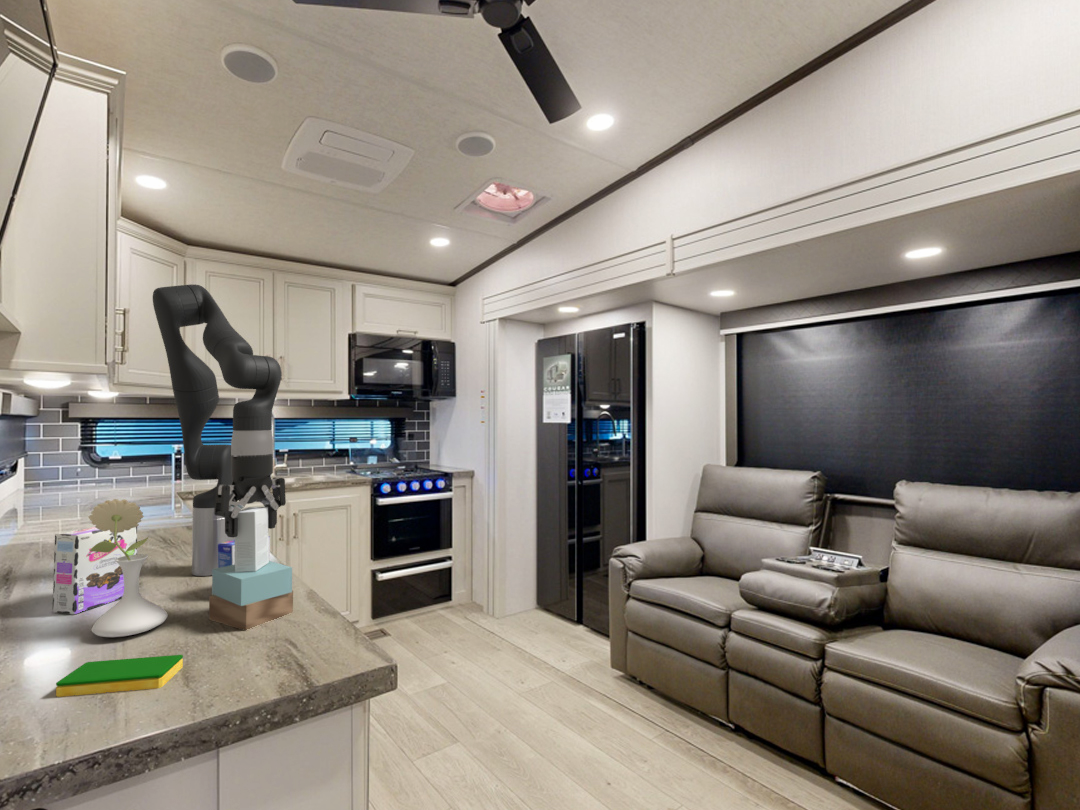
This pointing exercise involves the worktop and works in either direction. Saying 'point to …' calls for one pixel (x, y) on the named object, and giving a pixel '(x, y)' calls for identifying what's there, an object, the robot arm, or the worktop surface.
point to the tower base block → (249, 611)
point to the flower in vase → (125, 574)
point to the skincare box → (252, 539)
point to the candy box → (88, 569)
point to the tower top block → (251, 583)
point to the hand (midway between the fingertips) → (251, 532)
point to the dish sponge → (120, 675)
